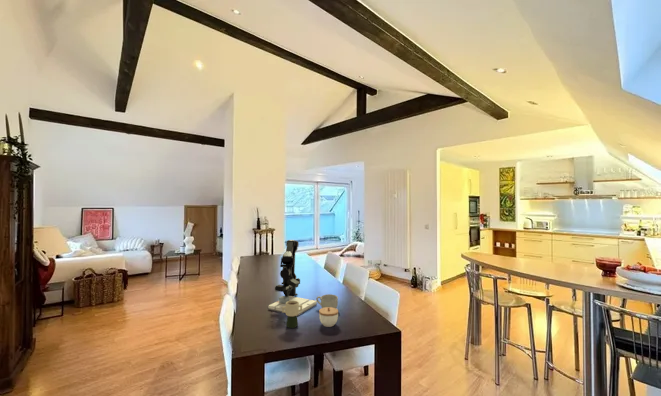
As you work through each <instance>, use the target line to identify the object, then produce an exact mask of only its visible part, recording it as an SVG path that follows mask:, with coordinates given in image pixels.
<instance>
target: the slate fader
mask: <svg viewBox="0 0 661 396" xmlns="http://www.w3.org/2000/svg"><path fill="white" fill-rule="evenodd" d="M278 301H279V302H280V303H286V302H287V301H289V297H286V296H285V295H282V296H279V297H278Z"/></svg>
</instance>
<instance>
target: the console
mask: <svg viewBox="0 0 661 396" xmlns="http://www.w3.org/2000/svg"><path fill="white" fill-rule="evenodd" d="M289 301H298V302H299V305H302V311H299V313H298V315H297V317H299V316H300V315H301V314H304V313H305V312H307V311H308V310H310V309H312V308H314V307H315V306H317V305H318V302H317V301H316V299H315V300H313V299H308V298H303V297H298V296H289ZM285 306H286V303H280V302H279V300H277V301H275V302H273V303H270V304H269V305H268V310H269V311H272V312H273V311H274V312H277V313H282V307H285ZM299 310H300V307H299ZM284 311H286V308H284Z"/></svg>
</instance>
